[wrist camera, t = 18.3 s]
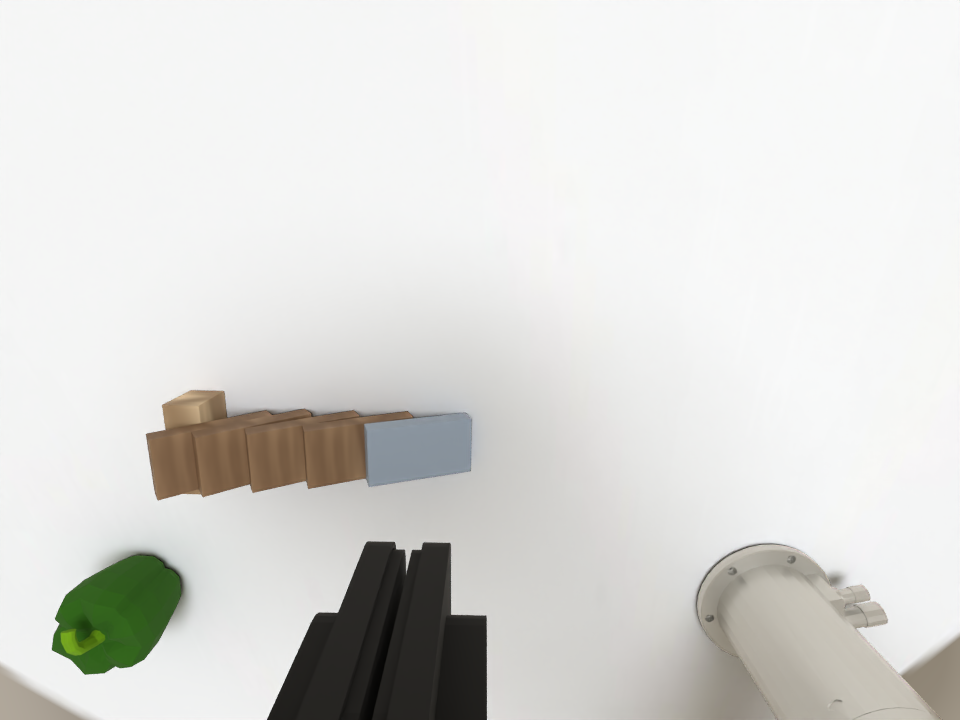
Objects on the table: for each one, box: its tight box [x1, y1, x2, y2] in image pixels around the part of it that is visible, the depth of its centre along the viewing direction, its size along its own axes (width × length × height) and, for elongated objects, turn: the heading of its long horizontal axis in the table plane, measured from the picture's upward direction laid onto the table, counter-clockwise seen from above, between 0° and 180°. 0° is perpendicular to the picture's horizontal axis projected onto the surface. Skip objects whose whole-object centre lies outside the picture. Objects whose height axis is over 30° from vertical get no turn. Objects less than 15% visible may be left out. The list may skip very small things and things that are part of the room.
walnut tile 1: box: [302, 411, 413, 489], centre depth 42 cm, size 2×5×9 cm
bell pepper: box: [52, 555, 181, 675], centre depth 44 cm, size 8×8×10 cm
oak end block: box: [162, 390, 227, 494], centre depth 43 cm, size 3×8×4 cm, turn 179°
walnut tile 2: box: [244, 410, 359, 493], centre depth 42 cm, size 2×5×9 cm
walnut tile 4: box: [146, 410, 271, 500], centre depth 41 cm, size 2×5×9 cm
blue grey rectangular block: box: [364, 413, 472, 487], centre depth 42 cm, size 2×5×9 cm
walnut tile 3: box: [191, 409, 311, 497], centre depth 41 cm, size 2×5×9 cm
